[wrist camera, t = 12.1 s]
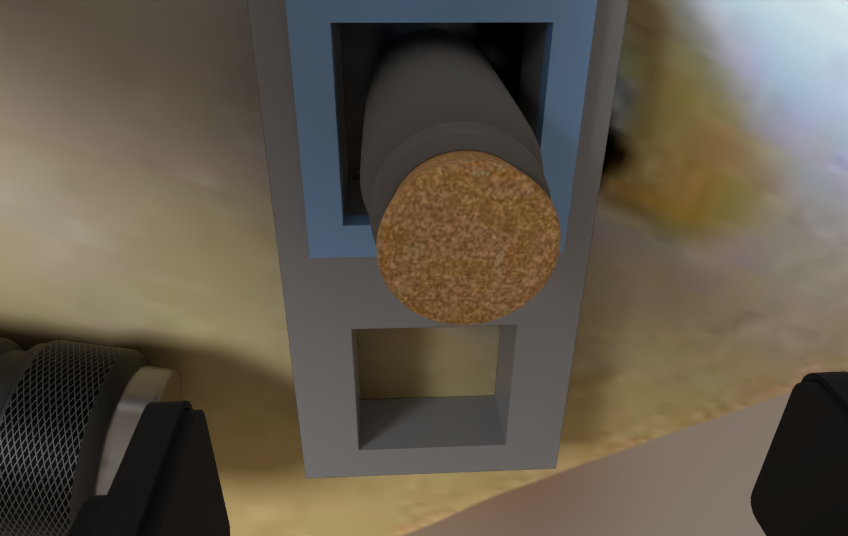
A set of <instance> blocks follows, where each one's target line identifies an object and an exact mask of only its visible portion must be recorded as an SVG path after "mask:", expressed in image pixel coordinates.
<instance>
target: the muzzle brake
mask: <svg viewBox="0 0 848 536" xmlns="http://www.w3.org/2000/svg"><path fill="white" fill-rule="evenodd" d="M168 401H182V383H181V378H180V374H179V373H178V371H176V370H175V369H168V368H161V367H153V366H151V364H150V361H149V360H148V359H147V358H146V357H144V356H143V355H142V354H140V353H139V352H138V351H136V350H134V349H126V348H119V347H111V346H104V345H96V344H88V343H81V342H73V341H66V340H54V341H51V342H48V343H41V344H38V345H35V346H33V347H32V348H31V349H29V350H24V349H22V348H21V347H20V345H18V344H16V343H15V342H13V341H11V340H10V339H7V338H0V536H67V535H68V533H69V531H70V529H71V527H72V524H73V522H74V520H75V518H76V516H77V514H78V512H79V510H80V508H81V507H82V505H83V503H84V502H85V501H86V500H87V499H88V498H89V497H90V496H95V495H107V493H108V491H109V489H110V486H111V484H112V482H113V479H114V477H115V475H116V473H117V470H118V468H119V466H120V463H121V461H122V459H123V456H124V454H125V452H126V449H127V447H128V445H129V442H130V440H131V438H132V435H133V433H134V431H135V429H136V426H137V424H138V422H139V419H140V417H141V415H142V412H143V410H144V408H145V407H146V405H147V404H148V403H150V402H168Z"/></svg>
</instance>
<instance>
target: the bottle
mask: <svg viewBox="0 0 848 536" xmlns="http://www.w3.org/2000/svg"><path fill="white" fill-rule="evenodd" d="M360 185H361V193H362V197H363V201H364V205H365V207H366V210H367V212H368V214H369V216H370V225H371V231H372V235H373V238H374V241H375V245H376V253H377V261H378V265H379V268H380V271H381V274H382V277H383V279H384V281H385V283H386V284H387V286H388V288H389V289H390V290H391V292H392V293H393V294H394V296H395V297H396V298H397V299H398V300H399V301H400V302H401V303H402V304H403V305H405V306H406V307H407V308H409V309H410V310H411V311H413V312H415V313H417V314H419V315H421V316H423V317H425V318H428V319H430V320H433V321H436V322H440V323H444V324H454V325H473V324H481V323H487V322H490V321H493V320H496V319H499V318H501V317H504V316H507V315H509V314H511V313H513V312H514V311H516V310H518V309H520V308H521V307H522V306H524V305H525V304H526V303H528V302H529V301H530V300H531V299H532V298H534V297H535V296H536V295H537V294H538V293H539V291H540V290H541V289H542V288H543V287H544V285H545V284H546V282H547V281H548V279H549V278H550V276H551V275H552V273H553V270H554V268H555V265H556V263H557V260H558V256H559V251H560V245H561V231H560V225H559V220H558V216H557V213H556V210H555V207H554V205H553V203H552V201H551V195H550V190H549V187H548V184H547V181H546V178H545V176H544V173H543V162H542V155H541V151H540V148H539V145H538V142H537V139H536V137H535V135H534V133H533V131H532V129H531V127H530V125H529V124H528V122H527V121H526V119H525V117H524V116H523V114H522V112H521V111H520V109H519V108H518V106H517V104H516V103H515V101H514V100H513V98H512V97H511V95H510V94H509V92H508V91H507V89H506V87H505V86H504V84H503V83H502V81H501V80H500V78H499V77H498V75H497V74H496V72H495V71H494V69H493V67H492V66H491V65H490V63H489V62H488V60H487V59H486V58H485V56H484V55H483V54H482V53H481V52H480V50H479V49H478V48H477V47H476V46H475V45H474V44H472V43H471V42H470V41H469V40H467V39H466V38H464V37H462V36H460V35H458V34H456V33H454V32H450V31H446V30H441V29H423V30H418V31H414V32H411V33H409V34H406V35H404V36H402V37H400V38H398V39H397V40H396V41H394V42H393V43H391V44H390V45H389V46H388V47H387V48H386V49H385V50H384V51H383V53H382V54H381V55H380V56H379V58H378V60H377V61H376V63H375V65H374V67H373V69H372V72H371V75H370V79H369V82H368V87H367V94H366V104H365V114H364V124H363V137H362V150H361V165H360Z"/></svg>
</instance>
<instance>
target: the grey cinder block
mask: <svg viewBox="0 0 848 536" xmlns="http://www.w3.org/2000/svg"><path fill="white" fill-rule="evenodd" d="M247 2H248V11H249V19H250V27H251V35H252V43H253V51H254V60H255V68H256V76H257V84H258V92H259V100H260V109H261V117H262V125H263V133H264V141H265V149H266V157H267V166H268V174H269V182H270V190H271V198H272V206H273V215H274V223H275V231H276V239H277V247H278V255H279V263H280V272H281V280H282V288H283V296H284V304H285V312H286V321H287V329H288V337H289V345H290V353H291V361H292V369H293V378H294V386H295V394H296V402H297V410H298V418H299V427H300V435H301V443H302V451H303V459H304V467H305V475H306V478H328V477H353V476H379V475H404V474H429V473H455V472H480V471H505V470H531V469H556V463H557V457H558V451H559V444H560V438H561V431H562V425H563V419H564V412H565V406H566V399H567V393H568V387H569V380H570V374H571V367H572V361H573V354H574V348H575V342H576V335H577V329H578V322H579V316H580V310H581V303H582V297H583V290H584V284H585V278H586V271H587V265H588V258H589V252H590V246H591V239H592V233H593V226H594V220H595V213H596V207H597V201H598V194H599V188H600V181H601V175H602V169H603V162H604V156H605V149H606V143H607V137H608V130H609V124H610V117H611V111H612V105H613V98H614V92H615V85H616V79H617V72H618V66H619V60H620V53H621V47H622V40H623V34H624V28H625V21H626V15H627V8H628V2H629V0H247ZM487 22H525V26H524V39H523V51H522V63H521V76H520V88H519V100H518V108H519V109H520V111H521V112H522V114H523V116H524V117H525V119H526V121H527V122H528V124H529V125H530V127H531V129H532V131H533V133H534V135H535V137H536V139H537V142H538V145H539V148H540V151H541V155H542V162H543V173H544V176H545V178H546V181H547V184H548V187H549V190H550V195H551V201H552V203H553V205H554V207H555V210H556V213H557V216H558V220H559V225H560V231H561V245H560V251H559V256H558V260H557V263H556V265H555V268H554V270H553V273H552V275H551V276H550V278H549V279H548V281H547V282H546V284H545V285H544V287H543V288H542V289H541V290H540V291H539V293H538V294H537V295H536V296H535V297H534V298H532V299H531V300H530V301H529V302H528V303H526V304H525V305H524V306H522V307H521V308H520V309H518V310H516V311H514V312H513V313H511V314H509V315H507V316H504V317H501V318H499V319H496V320H493V321H490V322H487V323H481V324H473V325H454V324H444V323H440V322H436V321H433V320H430V319H428V318H425V317H423V316H421V315H419V314H417V313H415V312H413V311H411V310H410V309H409V308H407V307H406V306H405V305H403V304H402V303H401V302H400V301H399V300H398V299H397V298H396V297H395V296H394V294H393V293H392V292H391V290H390V289H389V288H388V286H387V284H386V283H385V281H384V279H383V277H382V274H381V271H380V268H379V265H378V261H377V253H376V245H375V241H374V238H373V235H372V231H371V225H370V216H369V214H368V212H367V210H366V207H365V205H364V201H363V197H362V193H361V185H360V180H348V163H347V145H346V127H345V109H344V92H343V74H342V56H341V38H340V23H487ZM491 325H500V333H499V346H498V358H497V370H496V383H495V395H494V396H464V397H434V398H404V399H374V400H361V395H360V377H359V359H358V341H357V329H381V328H418V327H454V326H491Z"/></svg>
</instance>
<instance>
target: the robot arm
mask: <svg viewBox="0 0 848 536" xmlns="http://www.w3.org/2000/svg"><path fill="white" fill-rule="evenodd" d="M751 507H752V511H753V514H754V516H755V518H756V520H757V521H758V523H759V524H760V526H761V528H762V529H763V531H764V533H765V534H766V536H848V372H823V373H810V374H807V375H806V376H805V377H804V378H803V380H802V381H801V383H798V384H796V385H795V386H794V388H793V390H792V393H791V395H790V398H789V400H788V403H787V405H786V408H785V410H784V413H783V416H782V418H781V420H780V423H779V426H778V428H777V431H776V433H775V436H774V438H773V441H772V443H771V446H770V449H769V451H768V453H767V456H766V459H765V461H764V464H763V466H762V469H761V471H760V474H759V476H758V479H757V481H756V484H755V486H754V489H753V491H752V495H751ZM67 536H230V526H229V520H228V516H227V511H226V507H225V502H224V498H223V494H222V489H221V485H220V480H219V476H218V471H217V467H216V462H215V458H214V454H213V449H212V445H211V440H210V436H209V431H208V427H207V422H206V418H205V414H204V412H203V410H193V409H192V406H191V404H190V402H189V401H168V402H150V403H148V404H147V405H146V407H145V408H144V410H143V412H142V415H141V417H140V419H139V422H138V424H137V426H136V429H135V431H134V433H133V435H132V438H131V440H130V442H129V445H128V447H127V449H126V452H125V454H124V456H123V459H122V461H121V463H120V466H119V468H118V470H117V473H116V475H115V477H114V479H113V482H112V484H111V486H110V489H109V491H108V493H107V495H95V496H90V497H89V498H88V499H87V500H86V501H85V502H84V503H83V505H82V507H81V508H80V510H79V512H78V514H77V516H76V518H75V520H74V522H73V524H72V527H71V529H70V531H69V533H68V535H67Z"/></svg>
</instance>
